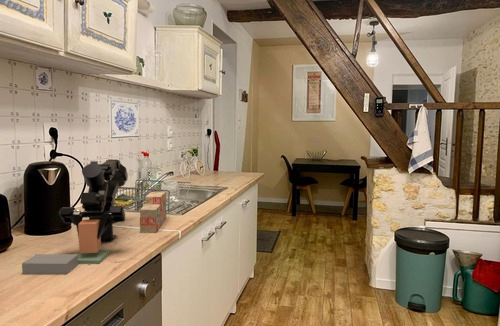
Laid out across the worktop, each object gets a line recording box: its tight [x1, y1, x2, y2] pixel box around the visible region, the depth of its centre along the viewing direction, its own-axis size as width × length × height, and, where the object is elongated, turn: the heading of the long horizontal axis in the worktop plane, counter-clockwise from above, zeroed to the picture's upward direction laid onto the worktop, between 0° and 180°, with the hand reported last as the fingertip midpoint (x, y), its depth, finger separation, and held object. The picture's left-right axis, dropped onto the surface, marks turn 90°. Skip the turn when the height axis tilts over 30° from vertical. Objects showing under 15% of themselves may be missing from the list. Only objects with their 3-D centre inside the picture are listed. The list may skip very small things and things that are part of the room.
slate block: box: [21, 253, 79, 275], centre depth 102 cm, size 7×12×3 cm, turn 91°
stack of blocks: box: [139, 191, 167, 234], centre depth 147 cm, size 21×6×12 cm, turn 3°
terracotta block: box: [78, 218, 102, 253], centre depth 110 cm, size 5×5×9 cm
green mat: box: [76, 249, 112, 265], centre depth 111 cm, size 9×9×1 cm
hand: (88, 239), depth 109 cm, fingers closed on terracotta block, 5 cm apart
